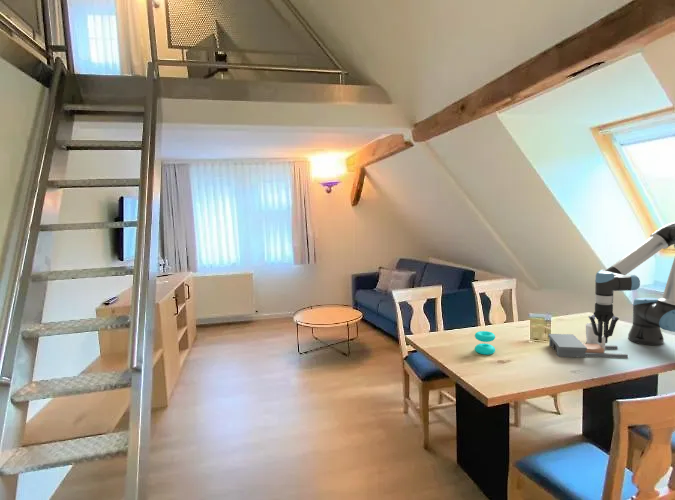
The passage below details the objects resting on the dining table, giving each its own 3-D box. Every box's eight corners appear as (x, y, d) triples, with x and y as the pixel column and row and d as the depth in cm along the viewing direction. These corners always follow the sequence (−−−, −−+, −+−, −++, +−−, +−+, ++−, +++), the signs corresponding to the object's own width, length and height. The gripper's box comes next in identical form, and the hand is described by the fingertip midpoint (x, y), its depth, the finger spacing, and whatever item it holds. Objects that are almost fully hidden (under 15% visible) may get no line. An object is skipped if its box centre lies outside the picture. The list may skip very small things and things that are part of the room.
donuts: (478, 329, 220) (497, 332, 214) (478, 347, 221) (497, 350, 215) (471, 334, 212) (491, 337, 206) (472, 353, 213) (491, 356, 207)
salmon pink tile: (597, 349, 210) (597, 343, 210) (603, 355, 202) (604, 349, 202) (567, 348, 213) (567, 342, 213) (572, 354, 206) (572, 348, 205)
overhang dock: (613, 345, 214) (613, 335, 213) (631, 360, 194) (631, 349, 194) (548, 343, 221) (548, 333, 220) (559, 358, 202) (559, 346, 201)
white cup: (605, 346, 214) (605, 327, 213) (588, 345, 216) (589, 327, 214) (599, 341, 222) (599, 323, 220) (582, 340, 223) (583, 322, 222)
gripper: (615, 301, 205) (613, 346, 208) (586, 301, 208) (585, 346, 211) (622, 305, 198) (620, 352, 201) (592, 304, 201) (590, 351, 204)
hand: (602, 349), depth 206 cm, fingers closed
